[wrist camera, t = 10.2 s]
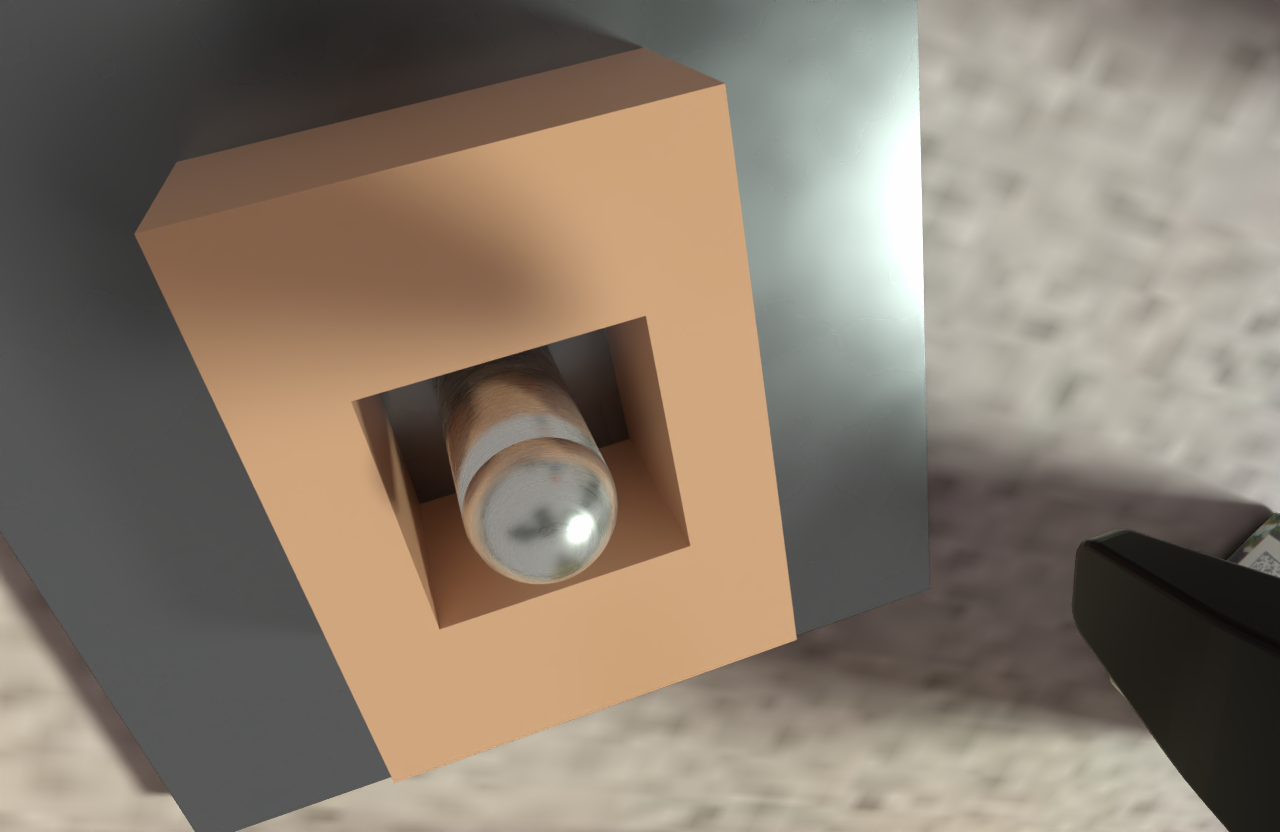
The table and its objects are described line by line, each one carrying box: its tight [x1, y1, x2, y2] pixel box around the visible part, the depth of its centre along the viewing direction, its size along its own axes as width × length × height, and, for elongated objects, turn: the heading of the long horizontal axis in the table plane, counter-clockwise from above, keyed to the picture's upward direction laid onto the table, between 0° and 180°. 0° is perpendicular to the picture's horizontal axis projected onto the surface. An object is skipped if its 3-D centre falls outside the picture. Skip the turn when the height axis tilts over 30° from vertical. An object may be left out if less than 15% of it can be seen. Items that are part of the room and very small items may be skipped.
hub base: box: [0, 0, 930, 832], centre depth 13 cm, size 14×14×5 cm
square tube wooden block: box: [135, 48, 797, 783], centre depth 13 cm, size 6×8×3 cm
